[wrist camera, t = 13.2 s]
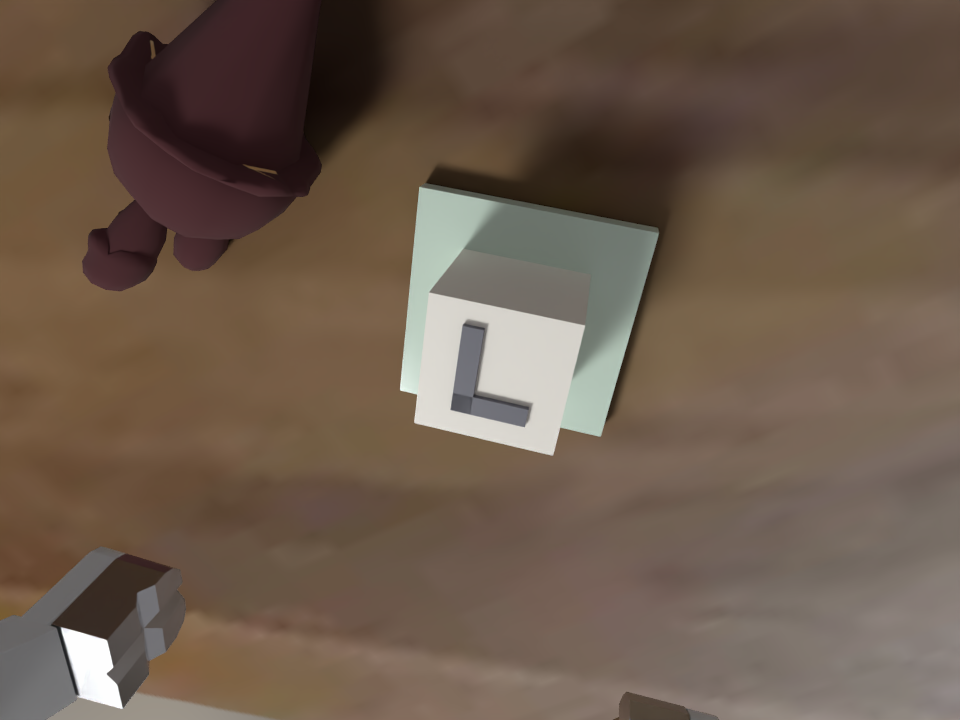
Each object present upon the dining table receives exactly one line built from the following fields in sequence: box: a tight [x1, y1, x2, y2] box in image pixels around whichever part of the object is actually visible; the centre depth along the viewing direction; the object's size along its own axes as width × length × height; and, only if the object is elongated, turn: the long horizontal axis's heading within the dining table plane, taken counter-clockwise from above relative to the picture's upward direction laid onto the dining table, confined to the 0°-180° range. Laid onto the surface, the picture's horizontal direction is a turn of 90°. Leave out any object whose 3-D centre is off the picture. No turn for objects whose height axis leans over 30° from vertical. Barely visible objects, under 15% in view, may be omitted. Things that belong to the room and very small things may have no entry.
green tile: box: [400, 183, 659, 437], centre depth 25 cm, size 9×9×1 cm
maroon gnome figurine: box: [82, 0, 322, 291], centre depth 21 cm, size 7×7×15 cm
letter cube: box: [414, 249, 591, 456], centre depth 22 cm, size 5×5×5 cm
